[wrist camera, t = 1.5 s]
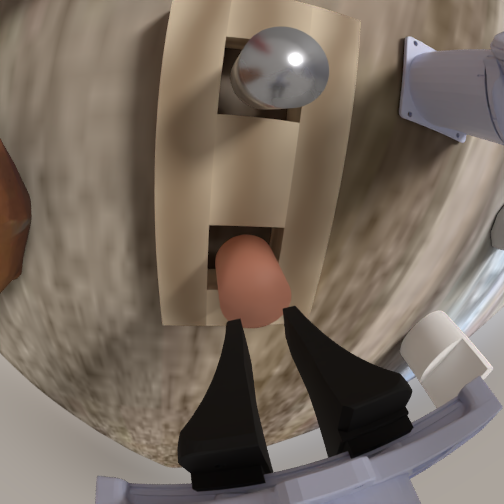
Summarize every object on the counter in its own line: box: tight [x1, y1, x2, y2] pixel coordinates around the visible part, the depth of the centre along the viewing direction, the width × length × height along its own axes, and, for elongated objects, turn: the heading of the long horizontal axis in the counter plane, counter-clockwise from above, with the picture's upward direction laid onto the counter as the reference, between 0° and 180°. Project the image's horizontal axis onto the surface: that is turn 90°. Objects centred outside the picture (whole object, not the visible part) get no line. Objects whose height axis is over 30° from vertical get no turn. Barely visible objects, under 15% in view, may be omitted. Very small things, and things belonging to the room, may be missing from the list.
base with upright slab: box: [400, 311, 493, 408], centre depth 29 cm, size 9×9×12 cm
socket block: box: [155, 0, 361, 326], centre depth 18 cm, size 12×24×3 cm, turn 174°
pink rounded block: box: [215, 235, 291, 328], centre depth 17 cm, size 4×4×4 cm
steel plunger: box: [230, 26, 329, 110], centre depth 12 cm, size 4×4×4 cm
